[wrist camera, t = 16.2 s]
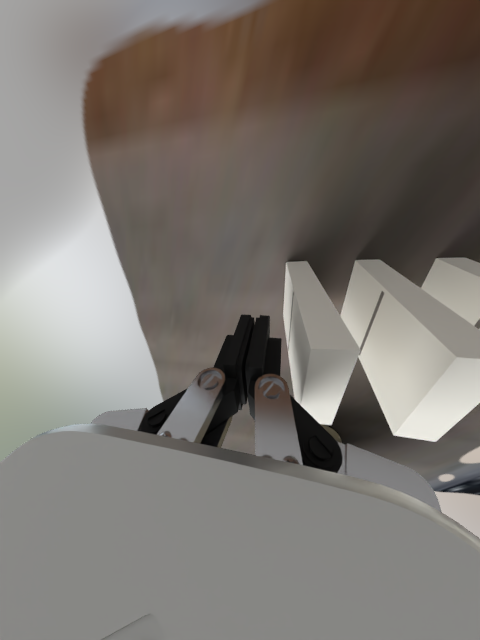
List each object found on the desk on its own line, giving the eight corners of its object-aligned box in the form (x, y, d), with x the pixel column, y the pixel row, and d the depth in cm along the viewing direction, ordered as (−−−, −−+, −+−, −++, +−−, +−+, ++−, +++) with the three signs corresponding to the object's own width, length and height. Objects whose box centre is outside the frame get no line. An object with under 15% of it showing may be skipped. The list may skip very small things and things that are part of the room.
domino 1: (307, 261, 14) (361, 350, 6) (300, 314, 17) (331, 425, 9) (286, 262, 15) (310, 348, 6) (283, 314, 17) (297, 422, 9)
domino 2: (379, 259, 13) (525, 362, 5) (360, 316, 16) (435, 441, 8) (355, 259, 14) (456, 357, 6) (340, 316, 16) (393, 435, 8)
